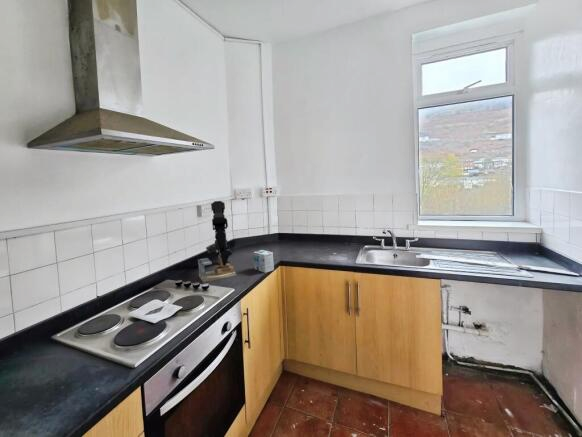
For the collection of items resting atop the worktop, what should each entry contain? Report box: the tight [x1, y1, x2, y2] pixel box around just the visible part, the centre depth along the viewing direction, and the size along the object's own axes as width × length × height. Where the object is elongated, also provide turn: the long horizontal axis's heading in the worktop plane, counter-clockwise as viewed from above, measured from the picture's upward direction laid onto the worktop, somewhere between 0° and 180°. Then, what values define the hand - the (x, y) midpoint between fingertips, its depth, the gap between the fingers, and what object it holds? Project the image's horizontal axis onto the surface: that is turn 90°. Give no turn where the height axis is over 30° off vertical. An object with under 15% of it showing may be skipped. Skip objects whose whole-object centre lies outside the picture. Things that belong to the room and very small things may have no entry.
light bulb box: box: [253, 249, 275, 274], centre depth 164 cm, size 11×7×11 cm, turn 45°
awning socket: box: [197, 257, 237, 283], centre depth 158 cm, size 12×18×10 cm, turn 119°
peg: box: [218, 256, 228, 269], centre depth 160 cm, size 4×4×8 cm
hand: (223, 264), depth 160 cm, fingers closed on peg, 4 cm apart
